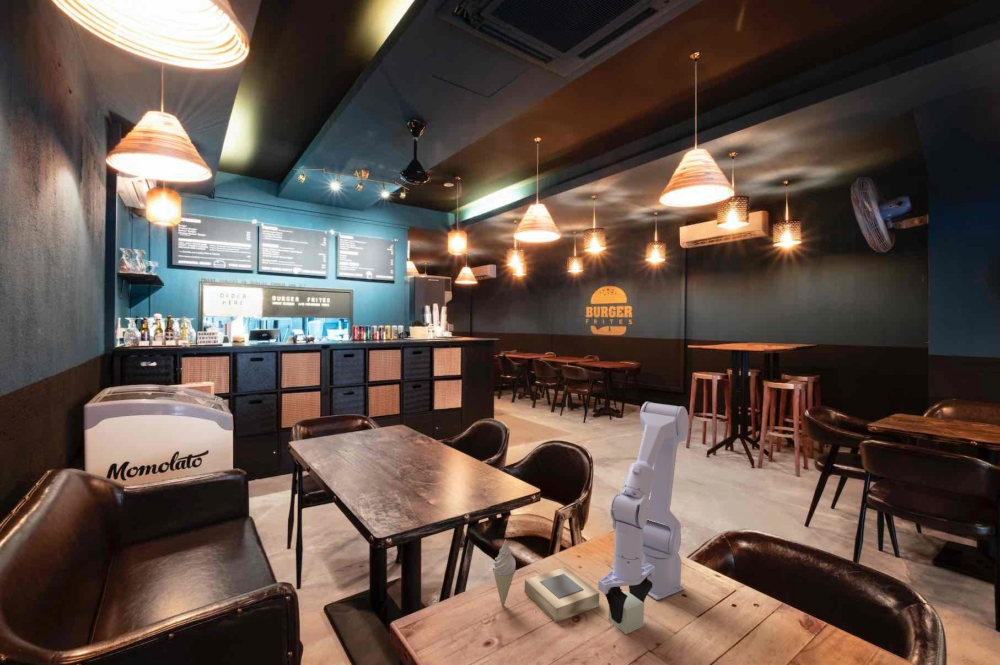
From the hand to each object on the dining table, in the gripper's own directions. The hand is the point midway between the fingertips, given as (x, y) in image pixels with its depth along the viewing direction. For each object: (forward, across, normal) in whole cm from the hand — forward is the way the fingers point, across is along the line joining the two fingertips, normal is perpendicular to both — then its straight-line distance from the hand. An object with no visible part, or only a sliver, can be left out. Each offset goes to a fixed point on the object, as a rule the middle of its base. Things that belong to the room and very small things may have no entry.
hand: (625, 616), depth 95 cm
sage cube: (+1, 0, 0) cm, 1 cm away
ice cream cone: (+2, +20, -17) cm, 26 cm away
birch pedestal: (+1, +7, -13) cm, 15 cm away
